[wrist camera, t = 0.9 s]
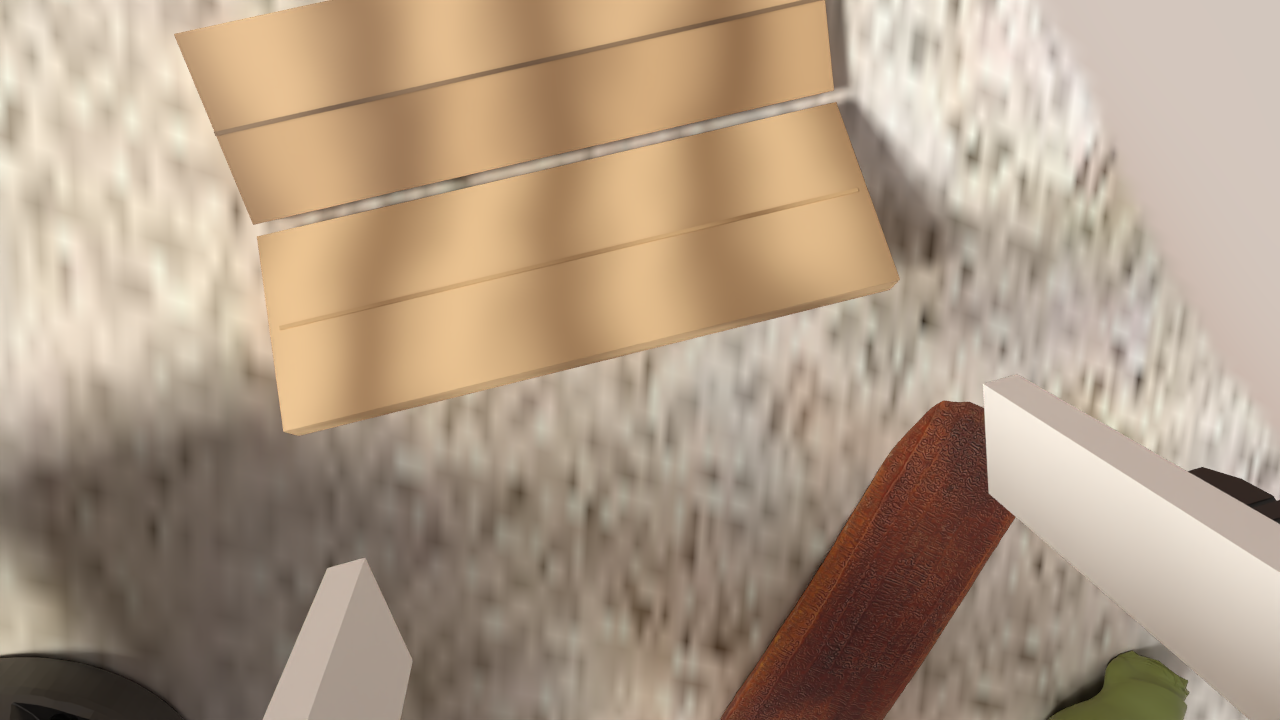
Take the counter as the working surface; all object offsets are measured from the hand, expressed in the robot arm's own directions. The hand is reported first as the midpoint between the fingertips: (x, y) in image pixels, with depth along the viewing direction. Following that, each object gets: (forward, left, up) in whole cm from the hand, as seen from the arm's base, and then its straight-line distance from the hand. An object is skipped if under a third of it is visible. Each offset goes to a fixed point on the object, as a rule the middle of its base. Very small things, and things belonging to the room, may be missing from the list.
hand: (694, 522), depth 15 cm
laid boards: (-1, +10, -19) cm, 21 cm away
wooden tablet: (+11, -22, -20) cm, 31 cm away
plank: (-1, +2, -16) cm, 16 cm away
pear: (+24, -34, -19) cm, 46 cm away
